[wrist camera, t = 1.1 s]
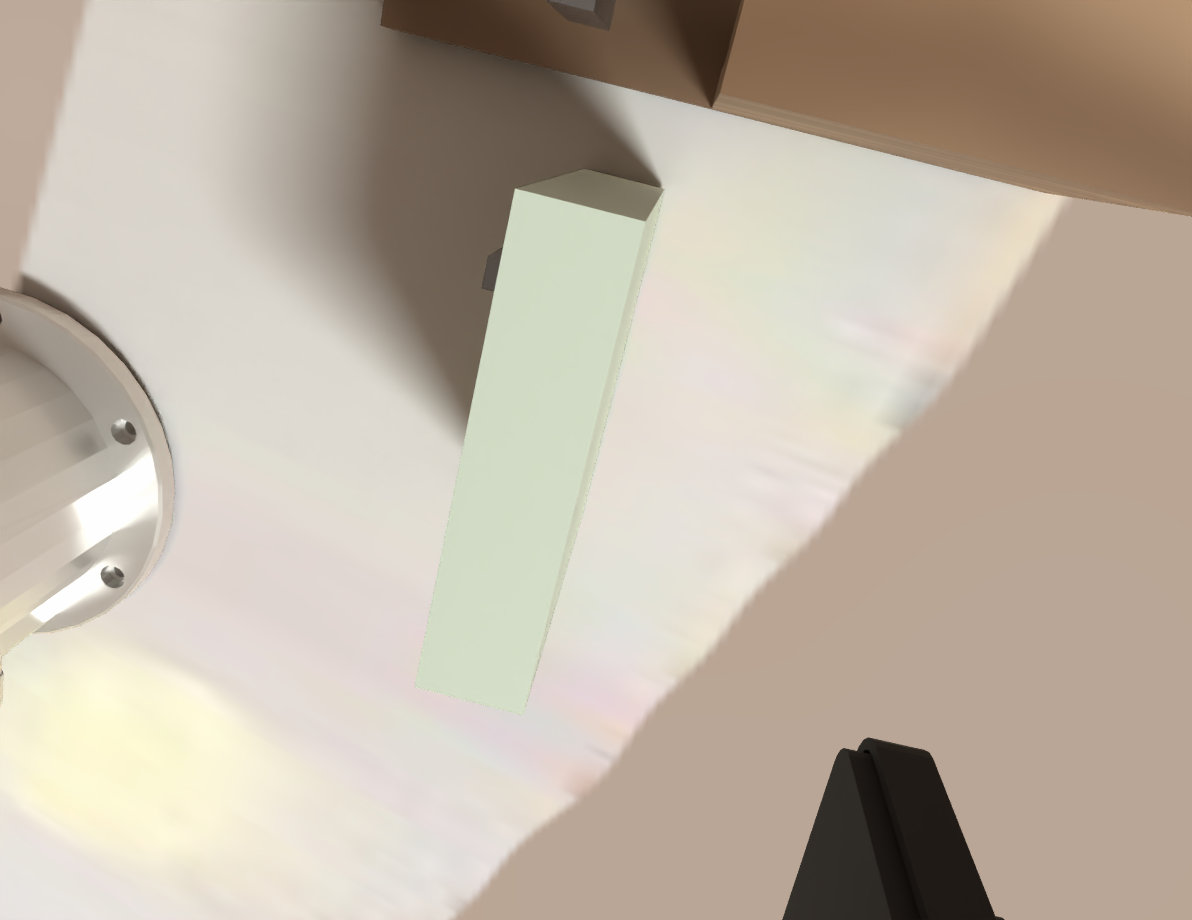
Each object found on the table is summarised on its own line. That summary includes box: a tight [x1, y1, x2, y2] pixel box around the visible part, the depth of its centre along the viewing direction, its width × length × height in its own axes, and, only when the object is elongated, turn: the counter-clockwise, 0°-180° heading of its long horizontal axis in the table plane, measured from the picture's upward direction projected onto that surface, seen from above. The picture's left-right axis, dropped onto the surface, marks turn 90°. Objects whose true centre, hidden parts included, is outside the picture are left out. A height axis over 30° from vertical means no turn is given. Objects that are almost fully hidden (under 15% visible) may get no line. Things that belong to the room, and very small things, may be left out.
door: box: [415, 169, 665, 715], centre depth 26 cm, size 11×3×12 cm, turn 166°
